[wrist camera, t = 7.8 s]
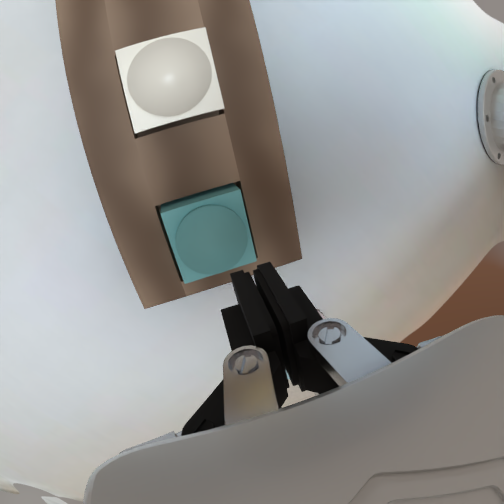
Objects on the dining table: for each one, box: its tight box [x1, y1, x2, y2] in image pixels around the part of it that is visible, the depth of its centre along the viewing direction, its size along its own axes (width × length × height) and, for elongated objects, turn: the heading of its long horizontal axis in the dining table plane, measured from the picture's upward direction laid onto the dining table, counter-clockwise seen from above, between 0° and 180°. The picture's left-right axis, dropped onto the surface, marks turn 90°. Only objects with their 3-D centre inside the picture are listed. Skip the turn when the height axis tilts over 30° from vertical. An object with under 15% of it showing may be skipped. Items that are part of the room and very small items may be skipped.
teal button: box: [160, 183, 257, 284], centre depth 21 cm, size 5×5×4 cm
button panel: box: [56, 0, 302, 309], centre depth 17 cm, size 12×28×3 cm, turn 12°
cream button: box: [115, 27, 224, 133], centre depth 15 cm, size 5×5×4 cm
